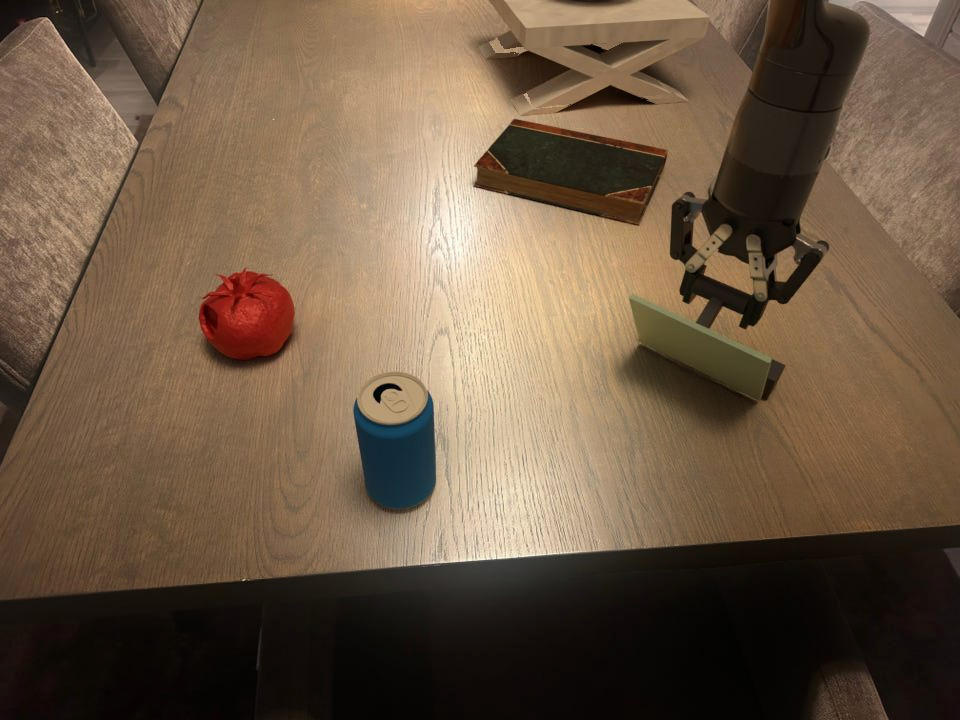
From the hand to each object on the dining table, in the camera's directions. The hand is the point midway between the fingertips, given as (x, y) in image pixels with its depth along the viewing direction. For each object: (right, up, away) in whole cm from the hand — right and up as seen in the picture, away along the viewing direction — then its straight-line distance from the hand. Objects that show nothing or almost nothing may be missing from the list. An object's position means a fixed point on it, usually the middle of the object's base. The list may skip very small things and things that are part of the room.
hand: (717, 311), depth 66 cm
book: (-10, +23, +36) cm, 44 cm away
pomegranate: (-49, -3, +9) cm, 50 cm away
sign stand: (+2, -5, +8) cm, 10 cm away
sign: (-2, -4, +1) cm, 4 cm away
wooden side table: (-5, +51, +64) cm, 82 cm away
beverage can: (-31, -16, -4) cm, 35 cm away
